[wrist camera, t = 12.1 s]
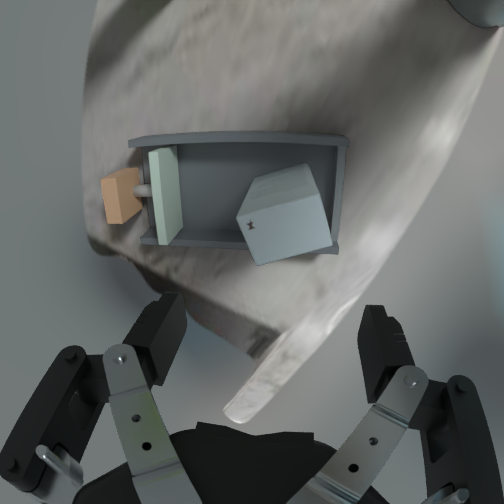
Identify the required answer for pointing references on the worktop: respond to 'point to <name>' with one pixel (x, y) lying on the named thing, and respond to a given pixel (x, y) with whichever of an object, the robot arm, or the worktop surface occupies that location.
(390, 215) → the worktop surface
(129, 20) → the worktop surface
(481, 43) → the worktop surface
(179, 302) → the robot arm
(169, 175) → the pusher
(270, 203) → the skincare box
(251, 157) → the pusher lane
